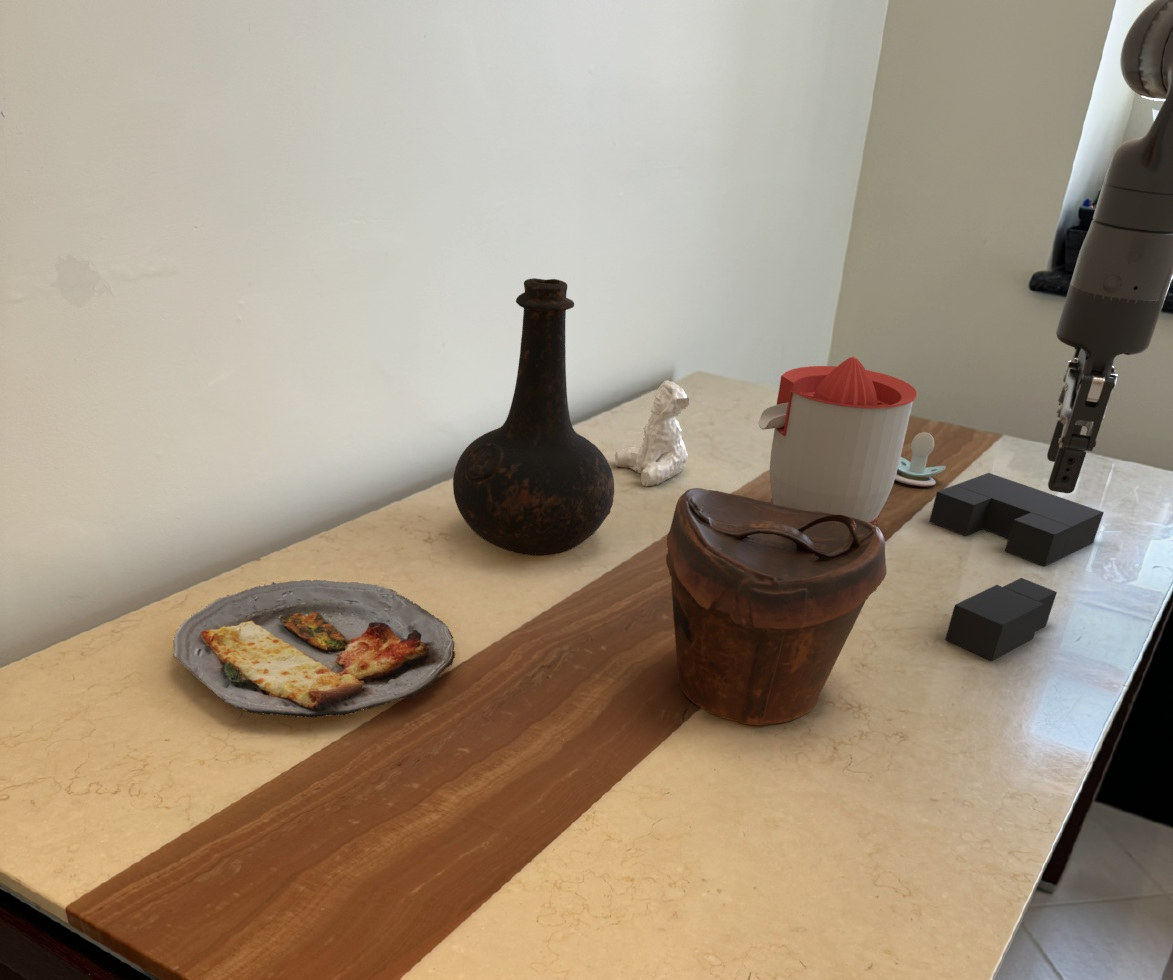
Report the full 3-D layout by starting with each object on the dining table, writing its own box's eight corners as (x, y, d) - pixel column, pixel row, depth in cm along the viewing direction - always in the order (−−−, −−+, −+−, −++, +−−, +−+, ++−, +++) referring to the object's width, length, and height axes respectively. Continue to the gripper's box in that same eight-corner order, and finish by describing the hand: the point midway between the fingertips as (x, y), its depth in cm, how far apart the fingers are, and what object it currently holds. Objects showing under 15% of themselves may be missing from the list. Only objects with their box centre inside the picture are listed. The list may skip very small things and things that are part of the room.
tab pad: (1051, 628, 117) (1063, 594, 114) (992, 661, 110) (1003, 625, 108) (1005, 609, 120) (1015, 575, 117) (944, 639, 113) (954, 604, 111)
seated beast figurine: (610, 463, 150) (616, 373, 143) (664, 456, 153) (673, 367, 146) (645, 488, 143) (654, 394, 136) (701, 480, 146) (712, 388, 139)
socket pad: (1093, 542, 136) (1104, 512, 134) (1044, 566, 130) (1054, 534, 127) (980, 501, 146) (988, 472, 143) (929, 521, 139) (936, 491, 137)
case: (898, 713, 101) (947, 528, 90) (719, 766, 92) (750, 568, 82) (779, 628, 113) (809, 456, 102) (611, 668, 104) (626, 485, 94)
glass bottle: (425, 528, 128) (418, 268, 112) (550, 500, 138) (559, 256, 121) (512, 587, 117) (517, 307, 101) (641, 551, 127) (665, 290, 110)
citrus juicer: (735, 497, 142) (758, 335, 130) (868, 502, 143) (902, 342, 132) (755, 547, 129) (782, 372, 118) (900, 552, 130) (941, 379, 119)
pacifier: (932, 493, 148) (944, 479, 152) (943, 448, 144) (956, 434, 148) (880, 481, 150) (893, 467, 155) (889, 436, 147) (903, 423, 151)
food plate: (502, 677, 102) (502, 643, 100) (278, 766, 88) (273, 730, 86) (351, 581, 116) (348, 549, 114) (138, 645, 103) (131, 611, 101)
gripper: (1175, 308, 85) (1105, 509, 94) (1159, 275, 96) (1098, 458, 106) (1073, 296, 87) (1015, 494, 96) (1069, 265, 98) (1017, 445, 107)
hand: (1058, 475), depth 101 cm, fingers open, 8 cm apart
